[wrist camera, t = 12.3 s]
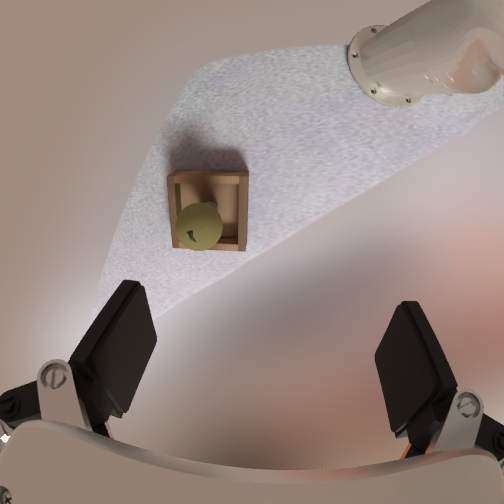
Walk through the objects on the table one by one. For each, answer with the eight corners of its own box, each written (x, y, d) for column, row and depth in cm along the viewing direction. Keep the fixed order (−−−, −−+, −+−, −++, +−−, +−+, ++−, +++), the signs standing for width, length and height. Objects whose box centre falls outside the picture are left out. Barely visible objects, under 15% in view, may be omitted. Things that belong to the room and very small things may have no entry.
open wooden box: (248, 171, 36) (247, 176, 33) (247, 240, 41) (245, 251, 38) (175, 170, 37) (167, 176, 34) (179, 237, 41) (172, 247, 38)
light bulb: (183, 207, 38) (158, 236, 29) (209, 180, 36) (189, 201, 27) (211, 233, 40) (195, 268, 31) (238, 207, 38) (229, 237, 29)
